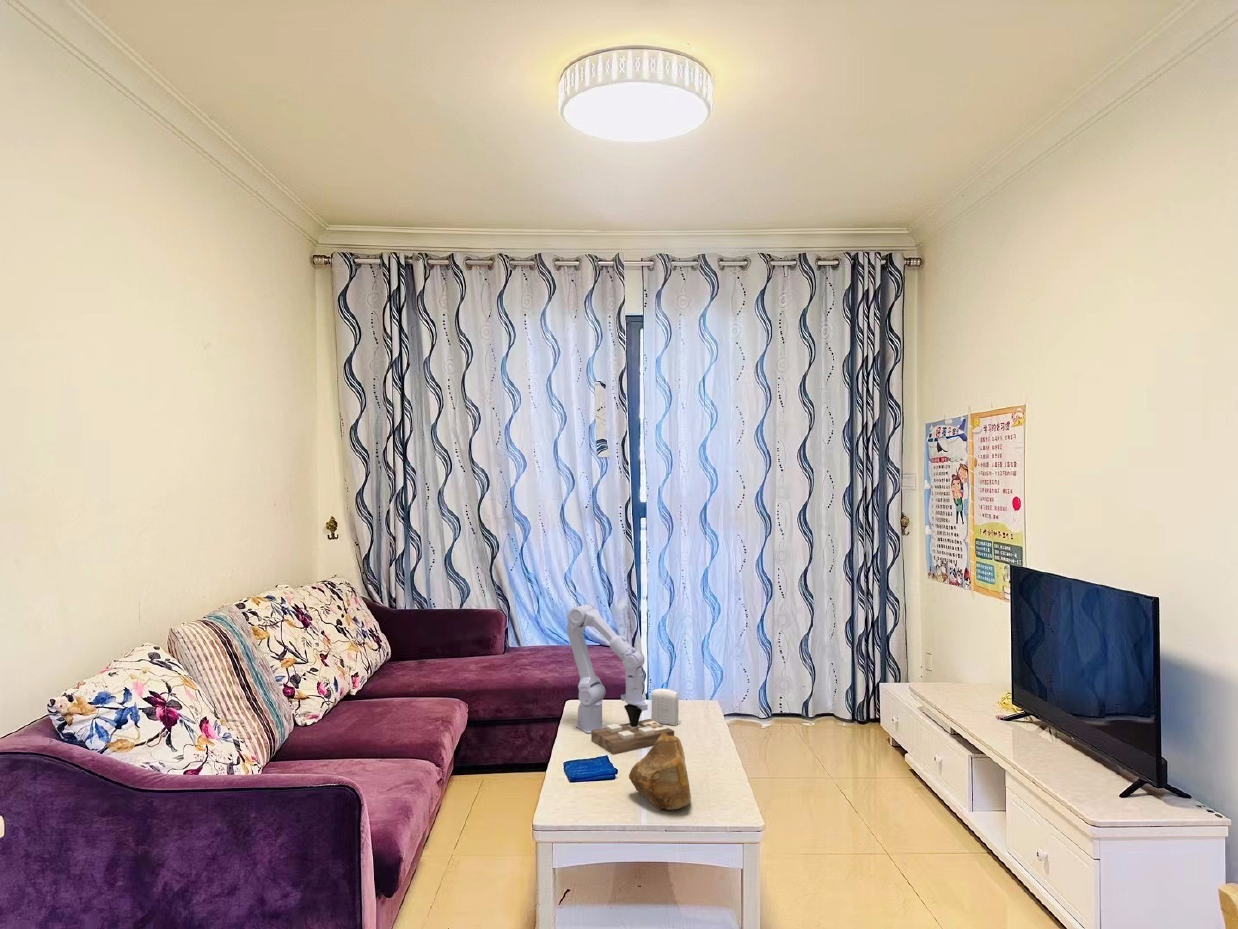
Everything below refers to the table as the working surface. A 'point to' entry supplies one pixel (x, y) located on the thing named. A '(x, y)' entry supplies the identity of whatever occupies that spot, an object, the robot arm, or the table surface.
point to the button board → (639, 741)
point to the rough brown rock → (663, 774)
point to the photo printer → (665, 706)
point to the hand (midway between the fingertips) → (634, 726)
